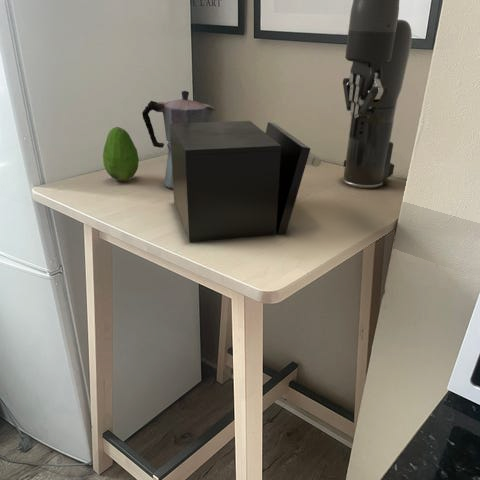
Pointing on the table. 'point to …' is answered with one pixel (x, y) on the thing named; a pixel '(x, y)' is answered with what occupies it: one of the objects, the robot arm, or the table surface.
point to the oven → (225, 180)
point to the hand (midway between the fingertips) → (356, 139)
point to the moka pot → (175, 122)
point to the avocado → (120, 155)
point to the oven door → (289, 172)
